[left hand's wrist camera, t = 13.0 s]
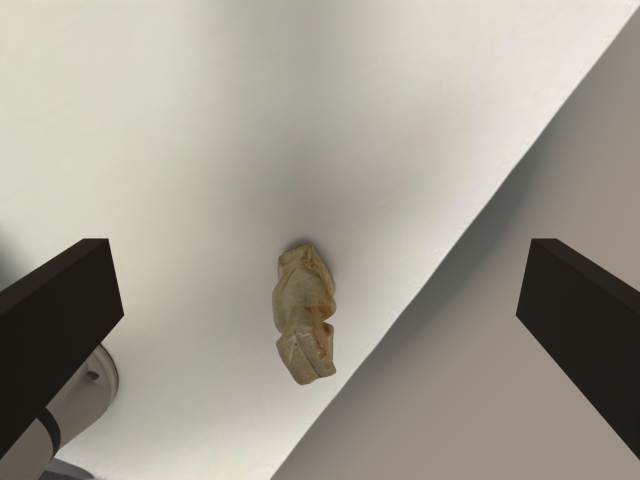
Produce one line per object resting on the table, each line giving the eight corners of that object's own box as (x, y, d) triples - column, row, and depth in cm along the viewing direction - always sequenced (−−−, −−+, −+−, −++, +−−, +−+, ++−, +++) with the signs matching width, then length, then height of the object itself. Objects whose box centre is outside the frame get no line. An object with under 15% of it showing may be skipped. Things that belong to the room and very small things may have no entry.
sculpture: (294, 302, 45) (282, 400, 31) (270, 248, 43) (246, 326, 29) (342, 287, 44) (353, 380, 30) (321, 230, 42) (321, 303, 28)
